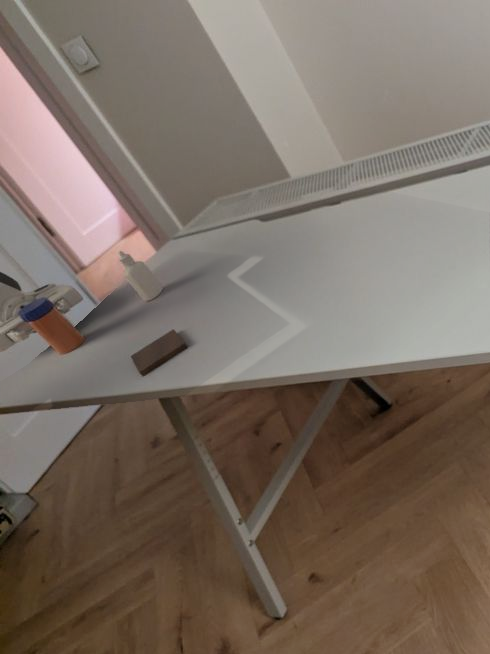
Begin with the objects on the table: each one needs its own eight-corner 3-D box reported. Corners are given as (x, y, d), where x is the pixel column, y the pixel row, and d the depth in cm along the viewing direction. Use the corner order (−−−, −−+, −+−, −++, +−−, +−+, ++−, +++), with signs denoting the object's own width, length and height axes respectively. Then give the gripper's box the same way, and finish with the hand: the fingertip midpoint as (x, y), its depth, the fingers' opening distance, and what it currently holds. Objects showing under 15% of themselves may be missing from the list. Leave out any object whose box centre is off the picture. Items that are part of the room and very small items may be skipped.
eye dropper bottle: (140, 300, 127) (104, 258, 120) (160, 286, 130) (126, 244, 123) (148, 302, 124) (112, 259, 117) (169, 288, 127) (134, 244, 120)
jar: (60, 357, 116) (20, 319, 110) (57, 349, 120) (20, 312, 114) (86, 342, 118) (49, 303, 112) (83, 334, 122) (47, 297, 116)
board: (142, 376, 97) (139, 372, 97) (133, 359, 104) (130, 356, 103) (187, 347, 100) (184, 343, 100) (176, 332, 107) (173, 329, 106)
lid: (25, 325, 110) (17, 318, 109) (24, 317, 115) (17, 310, 114) (55, 309, 113) (47, 301, 111) (52, 301, 117) (45, 294, 116)
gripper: (-30, 331, 120) (-16, 341, 111) (58, 278, 130) (76, 283, 122) (-7, 352, 123) (9, 363, 115) (77, 299, 134) (96, 306, 126)
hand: (44, 322), depth 118 cm, fingers open, 8 cm apart
